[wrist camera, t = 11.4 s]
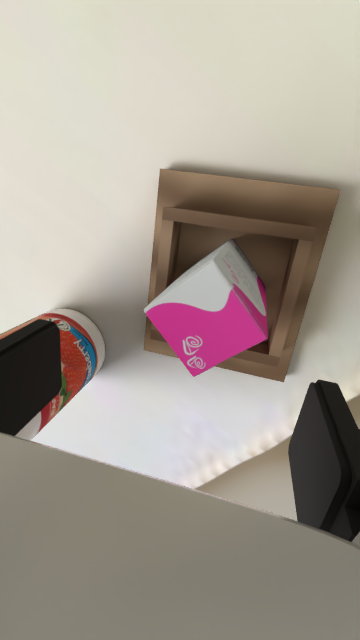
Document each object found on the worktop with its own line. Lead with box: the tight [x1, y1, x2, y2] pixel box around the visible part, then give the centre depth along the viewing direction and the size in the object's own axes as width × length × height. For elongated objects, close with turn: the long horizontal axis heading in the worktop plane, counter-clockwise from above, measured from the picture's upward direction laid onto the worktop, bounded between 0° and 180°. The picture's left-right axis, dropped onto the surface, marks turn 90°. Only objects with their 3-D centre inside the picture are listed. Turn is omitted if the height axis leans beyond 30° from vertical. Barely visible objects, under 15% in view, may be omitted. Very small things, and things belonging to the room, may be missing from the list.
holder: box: [144, 169, 340, 382], centre depth 28 cm, size 18×15×4 cm
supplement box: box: [144, 238, 268, 377], centre depth 23 cm, size 6×6×12 cm
